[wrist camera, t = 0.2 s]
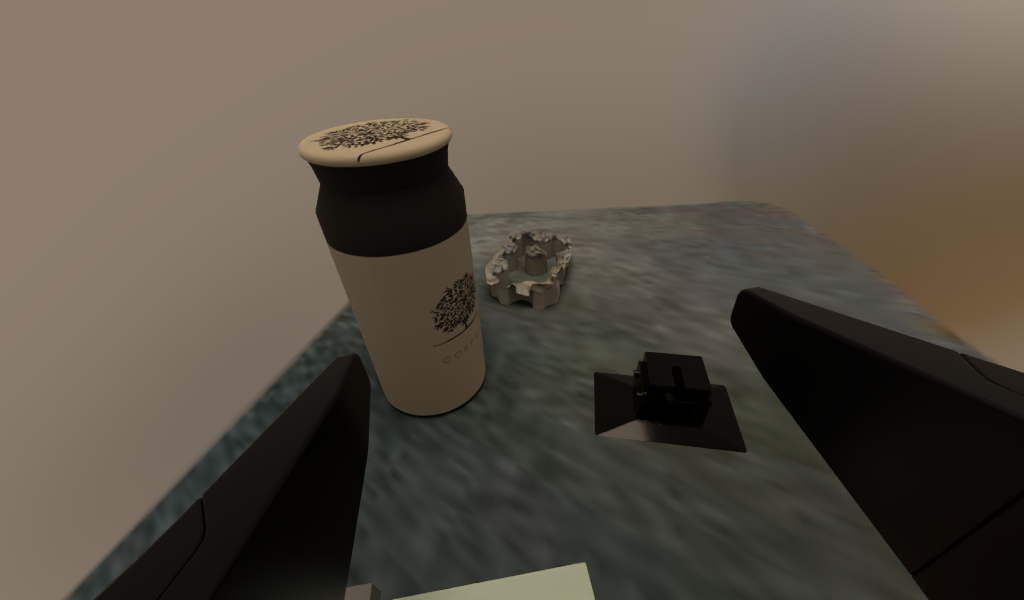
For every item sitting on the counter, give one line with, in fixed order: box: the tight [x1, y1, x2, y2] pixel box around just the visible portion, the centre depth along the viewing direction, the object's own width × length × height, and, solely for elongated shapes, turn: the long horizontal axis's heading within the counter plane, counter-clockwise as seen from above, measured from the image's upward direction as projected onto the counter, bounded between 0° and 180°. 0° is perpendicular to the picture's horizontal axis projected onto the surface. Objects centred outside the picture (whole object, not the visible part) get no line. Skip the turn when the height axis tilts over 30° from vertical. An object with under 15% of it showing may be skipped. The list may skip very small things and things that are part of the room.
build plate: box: [594, 352, 747, 453], centre depth 26 cm, size 12×7×5 cm, turn 80°
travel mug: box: [298, 118, 486, 416], centre depth 24 cm, size 8×8×18 cm
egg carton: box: [485, 226, 572, 310], centre depth 39 cm, size 11×8×4 cm
